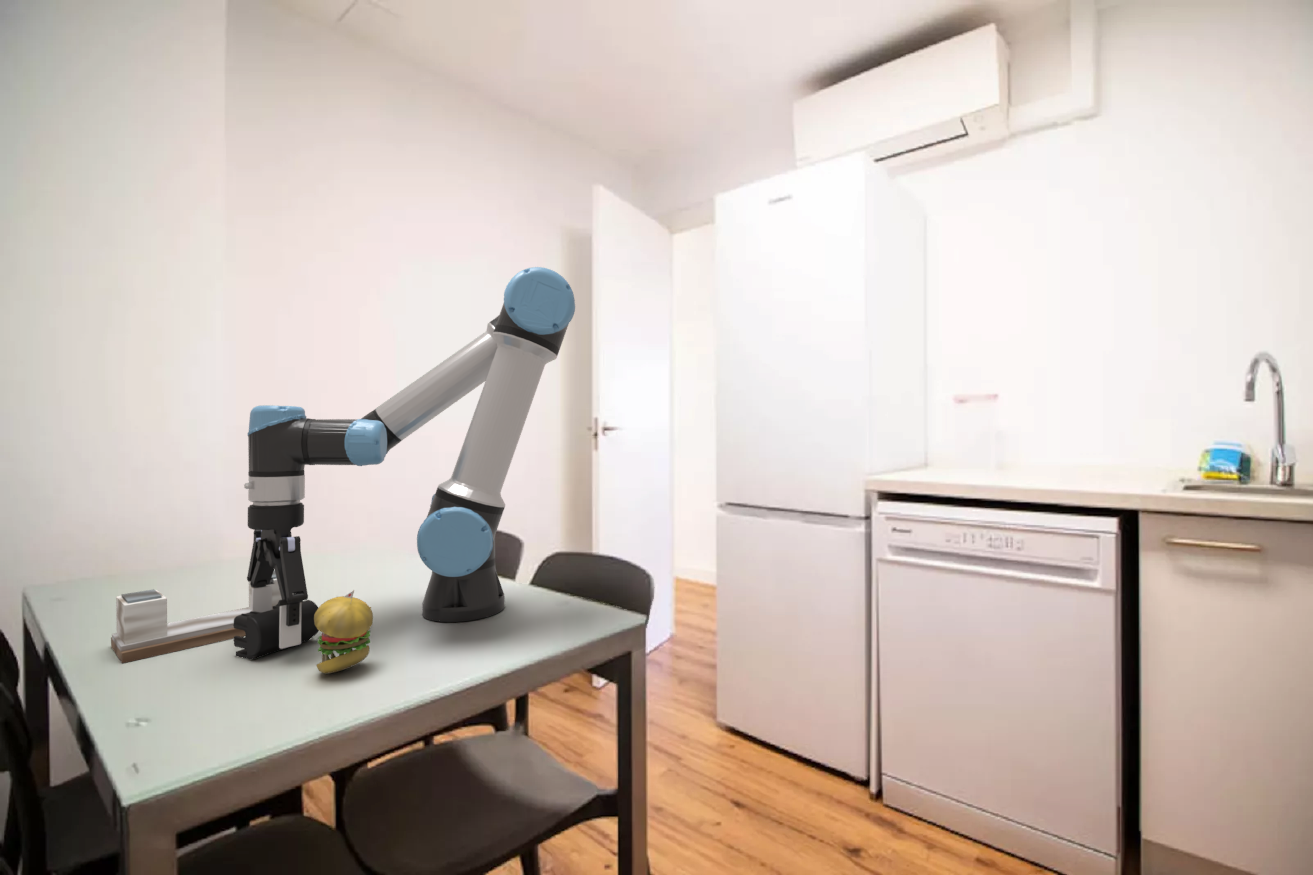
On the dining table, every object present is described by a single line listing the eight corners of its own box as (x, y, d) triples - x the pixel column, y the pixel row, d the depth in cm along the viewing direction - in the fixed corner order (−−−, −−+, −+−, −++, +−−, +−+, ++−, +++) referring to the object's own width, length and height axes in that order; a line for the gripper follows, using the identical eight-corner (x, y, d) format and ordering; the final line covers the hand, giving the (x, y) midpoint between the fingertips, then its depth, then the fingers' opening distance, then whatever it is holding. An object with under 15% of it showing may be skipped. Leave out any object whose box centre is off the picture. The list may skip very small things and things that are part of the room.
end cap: (260, 664, 86) (259, 619, 86) (230, 657, 89) (230, 613, 89) (322, 642, 95) (322, 601, 95) (293, 636, 98) (293, 596, 98)
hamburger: (351, 658, 88) (351, 579, 88) (385, 666, 85) (384, 584, 85) (302, 677, 81) (301, 592, 81) (336, 687, 78) (335, 598, 78)
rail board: (300, 623, 105) (300, 575, 105) (122, 663, 86) (121, 605, 86) (280, 611, 112) (279, 566, 112) (111, 646, 94) (110, 593, 94)
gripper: (226, 498, 97) (224, 624, 97) (275, 511, 81) (274, 662, 81) (277, 495, 103) (275, 614, 103) (333, 507, 87) (331, 648, 87)
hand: (275, 635), depth 92 cm, fingers open, 13 cm apart
